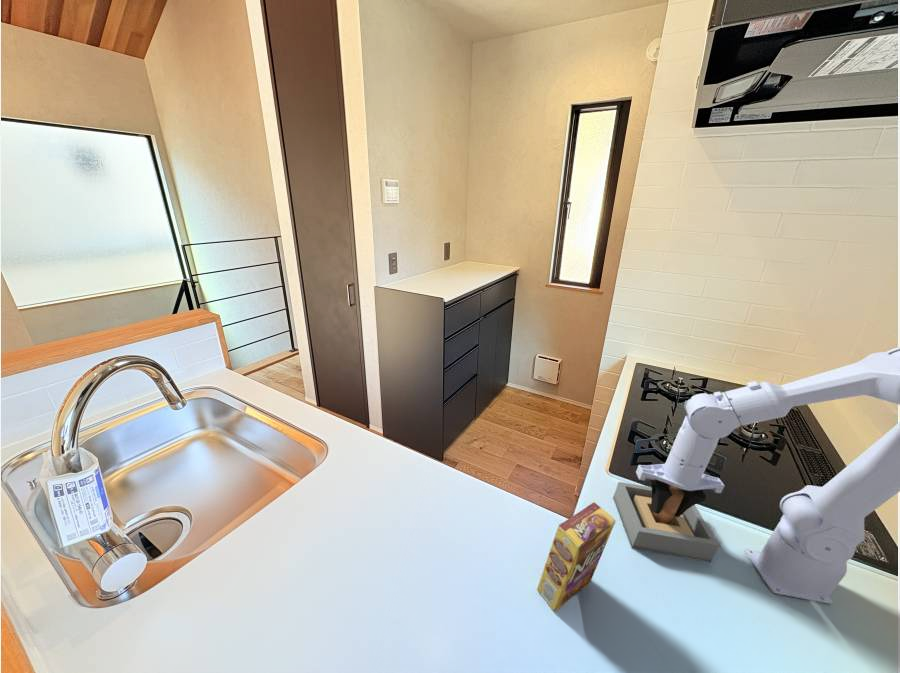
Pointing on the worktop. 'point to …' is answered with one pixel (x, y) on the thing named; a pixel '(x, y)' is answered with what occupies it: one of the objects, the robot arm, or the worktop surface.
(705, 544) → the tray
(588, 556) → the candy box
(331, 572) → the worktop surface
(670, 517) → the peg
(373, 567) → the worktop surface
